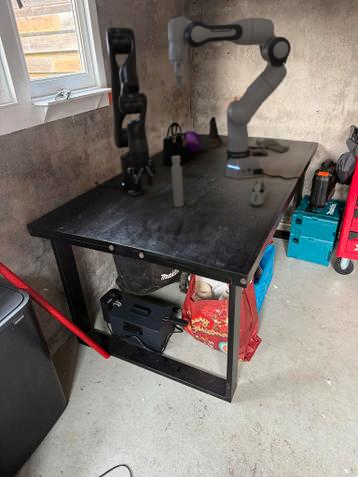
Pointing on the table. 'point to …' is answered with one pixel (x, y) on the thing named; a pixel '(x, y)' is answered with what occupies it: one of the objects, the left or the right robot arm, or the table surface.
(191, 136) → the decorative orb
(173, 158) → the cap
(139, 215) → the table surface
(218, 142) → the boot
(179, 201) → the bottle
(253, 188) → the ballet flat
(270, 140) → the pair of gloves
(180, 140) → the handbag
